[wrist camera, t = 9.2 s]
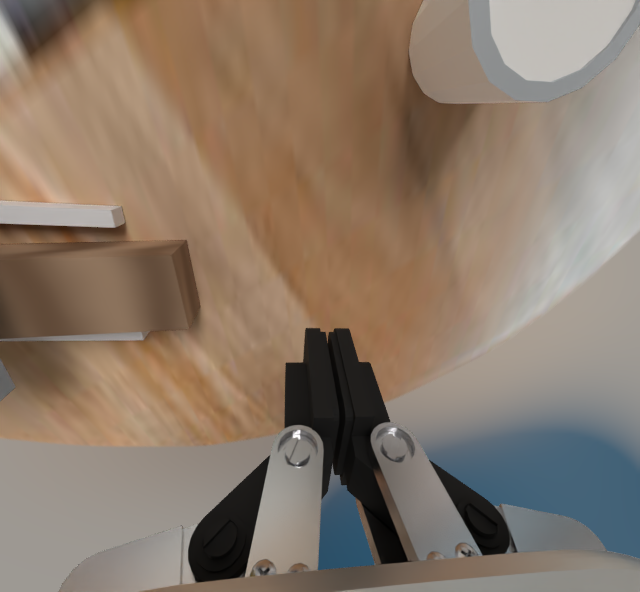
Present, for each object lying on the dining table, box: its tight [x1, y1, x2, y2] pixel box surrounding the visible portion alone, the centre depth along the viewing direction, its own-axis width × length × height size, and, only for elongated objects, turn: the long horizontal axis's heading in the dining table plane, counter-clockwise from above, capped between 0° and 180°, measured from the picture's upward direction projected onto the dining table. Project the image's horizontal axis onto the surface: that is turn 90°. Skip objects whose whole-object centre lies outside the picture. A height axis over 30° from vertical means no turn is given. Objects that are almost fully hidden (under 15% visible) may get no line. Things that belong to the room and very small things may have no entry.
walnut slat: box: [0, 240, 200, 339], centre depth 18 cm, size 17×5×3 cm, turn 89°
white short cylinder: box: [409, 0, 640, 104], centre depth 13 cm, size 7×7×7 cm
